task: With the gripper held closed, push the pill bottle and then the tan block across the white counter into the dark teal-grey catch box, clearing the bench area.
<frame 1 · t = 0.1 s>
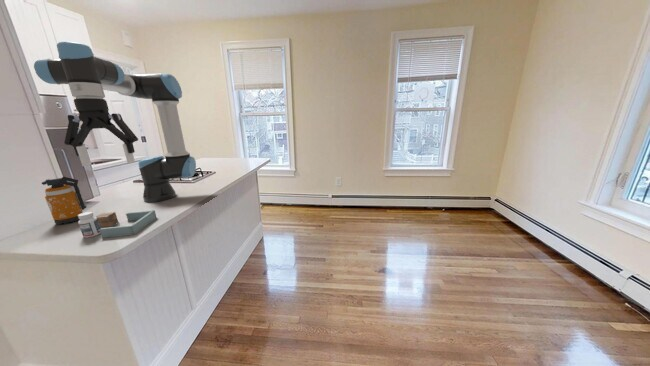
hand: (109, 164, 79), 28 cm above the table, fingers open, 13 cm apart
catch box: (131, 226, 96), on the table
canister: (73, 220, 105), on the table
tan block: (107, 225, 98), on the table
pill bottle: (92, 235, 90), on the table
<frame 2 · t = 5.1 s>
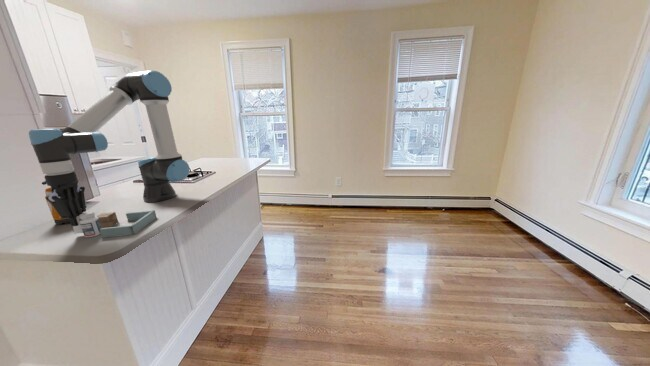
hand: (80, 232, 89), 1 cm above the table, fingers closed
pill bottle: (94, 234, 90), on the table, touching gripper
everything else where it was.
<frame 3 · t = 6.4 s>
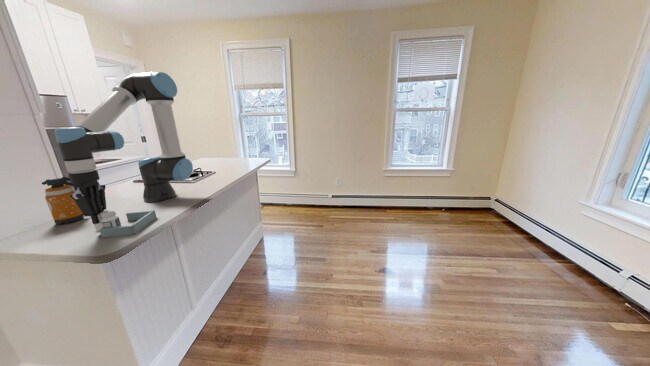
hand: (101, 229, 90), 2 cm above the table, fingers closed
pill bottle: (114, 233, 91), on the table, touching gripper
everything else where it was.
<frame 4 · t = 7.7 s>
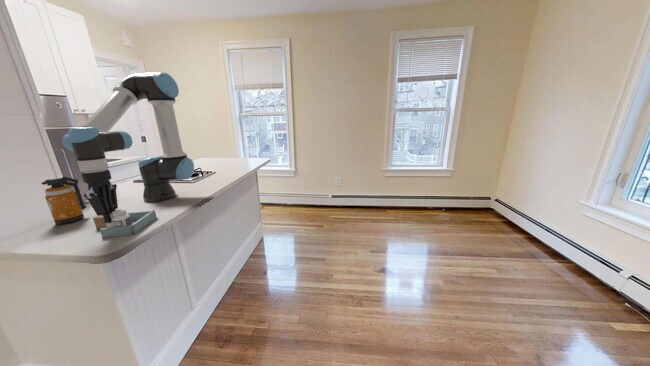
hand: (113, 228, 91), 1 cm above the table, fingers closed
pill bottle: (125, 231, 91), on the table, touching catch box, gripper
everything else where it was.
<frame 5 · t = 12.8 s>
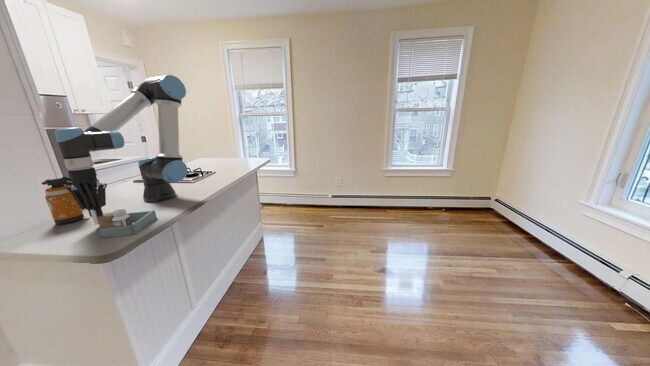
hand: (99, 223, 97), 1 cm above the table, fingers closed
tan block: (111, 225, 98), on the table, touching gripper
pill bottle: (125, 232, 91), on the table
everything else where it was.
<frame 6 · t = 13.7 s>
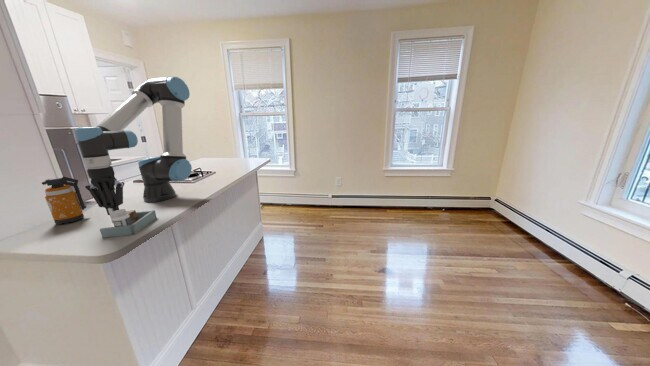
hand: (116, 221, 98), 1 cm above the table, fingers closed
tan block: (128, 223, 99), on the table, touching gripper
everything else where it was.
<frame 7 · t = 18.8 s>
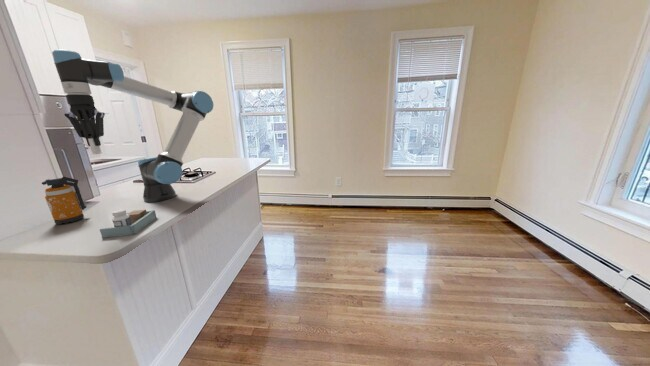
hand: (97, 153, 98), 29 cm above the table, fingers closed
tan block: (138, 222, 99), on the table
everything else where it was.
at the end: pill bottle inside the target area (4.3 cm from its centre), on the table; tan block inside the target area (3.9 cm from its centre), on the table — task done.
